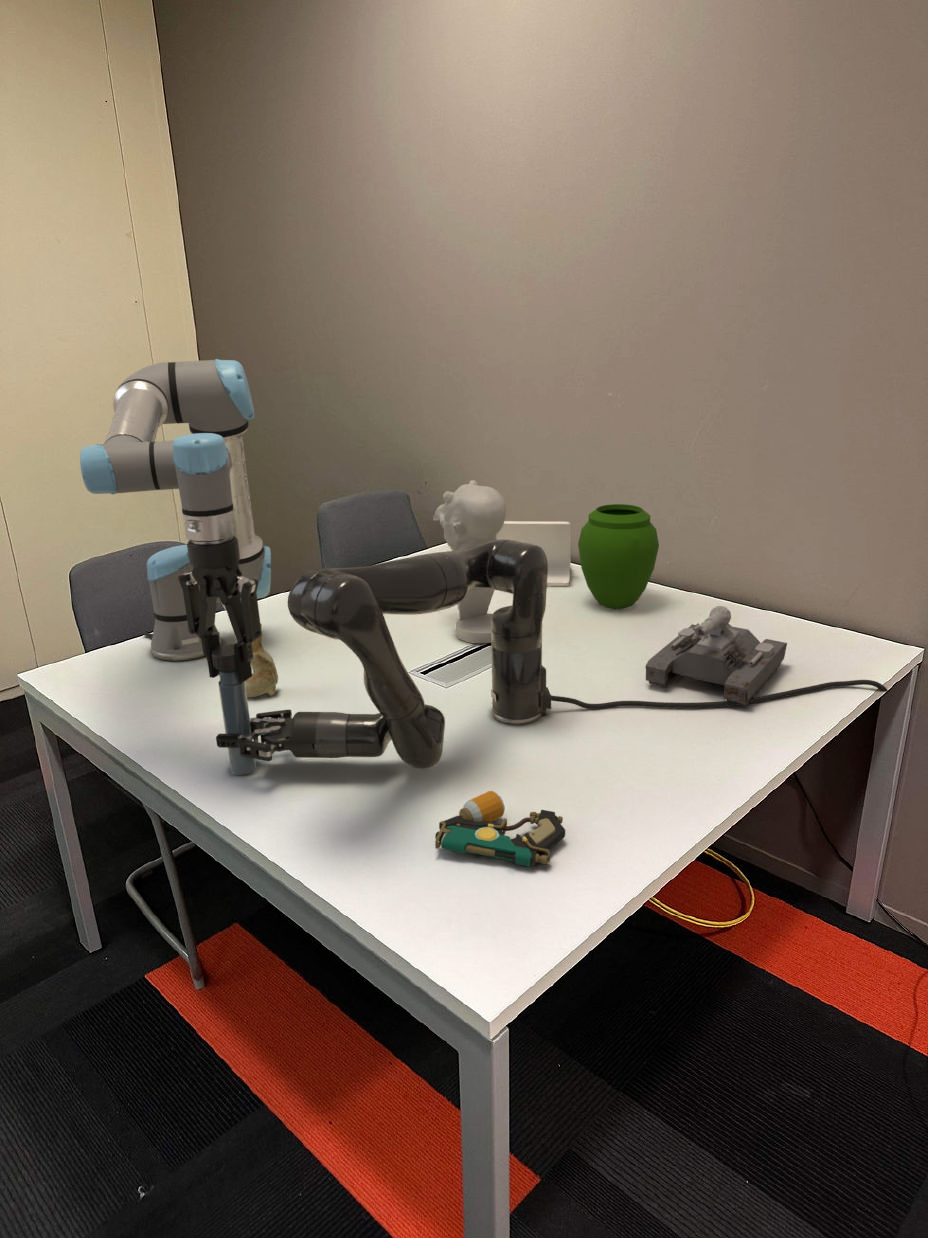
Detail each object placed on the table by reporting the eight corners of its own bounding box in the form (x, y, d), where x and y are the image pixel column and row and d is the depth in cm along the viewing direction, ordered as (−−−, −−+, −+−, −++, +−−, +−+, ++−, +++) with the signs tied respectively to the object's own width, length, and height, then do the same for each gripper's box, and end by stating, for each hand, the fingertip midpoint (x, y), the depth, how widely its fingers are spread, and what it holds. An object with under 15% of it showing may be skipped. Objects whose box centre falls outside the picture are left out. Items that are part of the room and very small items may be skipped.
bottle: (227, 767, 145) (212, 668, 138) (250, 760, 147) (237, 661, 140) (236, 778, 141) (222, 676, 135) (260, 769, 144) (247, 669, 137)
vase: (599, 587, 227) (601, 497, 218) (668, 600, 216) (673, 505, 208) (562, 608, 212) (564, 513, 204) (634, 623, 202) (639, 523, 193)
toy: (692, 645, 188) (696, 580, 183) (784, 664, 177) (792, 596, 172) (643, 687, 169) (647, 616, 164) (744, 712, 158) (751, 636, 153)
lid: (239, 670, 135) (237, 656, 134) (208, 670, 135) (206, 656, 135) (249, 657, 140) (247, 644, 139) (219, 657, 140) (217, 643, 139)
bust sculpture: (477, 606, 216) (474, 468, 204) (528, 636, 196) (528, 485, 184) (420, 618, 209) (413, 476, 197) (467, 650, 189) (462, 494, 177)
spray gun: (576, 835, 125) (528, 897, 113) (478, 798, 133) (424, 852, 121) (578, 811, 123) (529, 871, 111) (479, 775, 131) (423, 828, 119)
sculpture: (244, 688, 174) (235, 619, 168) (280, 686, 174) (272, 617, 169) (241, 701, 168) (231, 630, 163) (278, 698, 169) (269, 628, 164)
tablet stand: (569, 585, 229) (570, 524, 223) (476, 584, 232) (475, 523, 226) (570, 566, 246) (571, 508, 240) (484, 564, 249) (483, 507, 243)
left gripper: (148, 539, 130) (171, 678, 138) (246, 550, 123) (264, 694, 132) (180, 527, 136) (200, 660, 145) (275, 536, 130) (290, 675, 138)
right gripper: (331, 695, 146) (233, 694, 147) (310, 735, 133) (203, 734, 134) (334, 734, 148) (238, 733, 150) (315, 777, 135) (209, 775, 137)
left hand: (231, 676), depth 138 cm, fingers closed on lid, 5 cm apart
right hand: (222, 733), depth 142 cm, fingers closed on bottle, 4 cm apart
